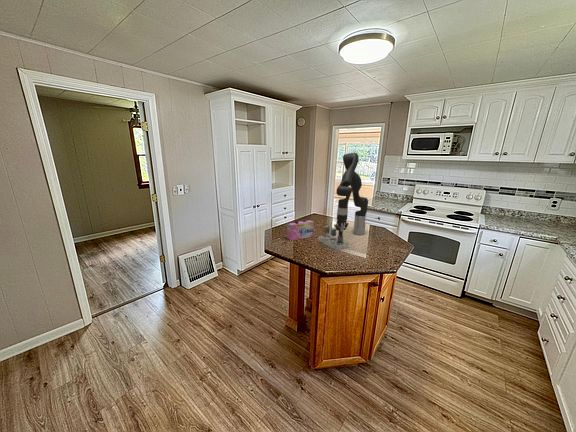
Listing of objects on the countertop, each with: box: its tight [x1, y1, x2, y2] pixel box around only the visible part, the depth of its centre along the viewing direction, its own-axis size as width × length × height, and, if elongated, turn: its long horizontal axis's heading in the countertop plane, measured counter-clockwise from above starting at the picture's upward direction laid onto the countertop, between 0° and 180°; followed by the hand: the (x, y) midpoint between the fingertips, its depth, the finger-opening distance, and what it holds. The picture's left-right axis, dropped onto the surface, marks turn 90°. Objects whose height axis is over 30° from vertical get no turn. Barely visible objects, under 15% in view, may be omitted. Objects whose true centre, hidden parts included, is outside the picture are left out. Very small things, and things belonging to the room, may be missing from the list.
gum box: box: [286, 219, 315, 241], centre depth 198 cm, size 24×8×14 cm, turn 118°
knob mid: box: [330, 227, 337, 237], centre depth 182 cm, size 4×4×5 cm
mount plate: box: [317, 233, 350, 251], centre depth 184 cm, size 12×22×4 cm, turn 30°
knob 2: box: [337, 234, 344, 243], centre depth 176 cm, size 4×4×5 cm
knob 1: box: [324, 225, 331, 234], centre depth 189 cm, size 4×4×5 cm
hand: (340, 235), depth 176 cm, fingers closed
